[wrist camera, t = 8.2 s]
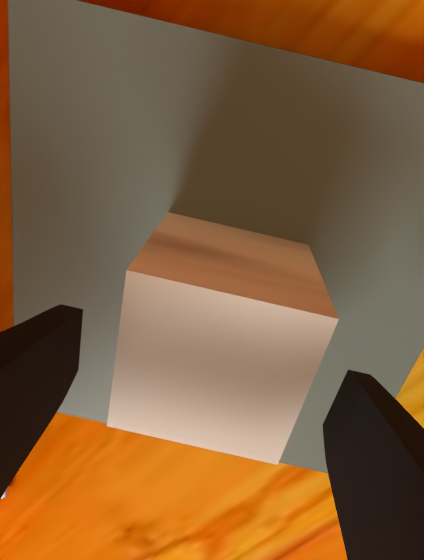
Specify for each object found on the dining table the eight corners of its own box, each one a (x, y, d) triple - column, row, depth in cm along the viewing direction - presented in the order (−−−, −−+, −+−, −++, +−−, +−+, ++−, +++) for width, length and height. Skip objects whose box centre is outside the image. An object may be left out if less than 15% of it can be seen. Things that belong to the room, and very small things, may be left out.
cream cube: (269, 358, 16) (277, 464, 11) (148, 330, 15) (106, 426, 11) (308, 244, 13) (339, 319, 9) (168, 212, 13) (126, 269, 9)
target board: (345, 456, 19) (350, 478, 18) (28, 385, 19) (14, 402, 18) (526, 112, 12) (553, 114, 11) (29, -7, 12) (7, -17, 11)
